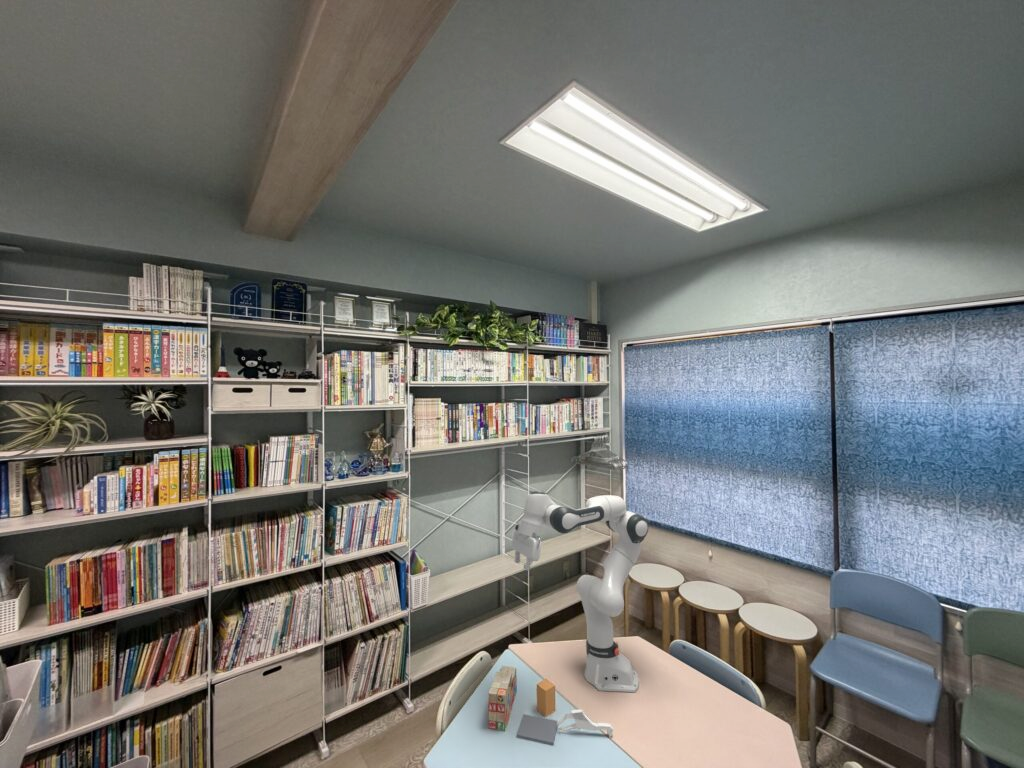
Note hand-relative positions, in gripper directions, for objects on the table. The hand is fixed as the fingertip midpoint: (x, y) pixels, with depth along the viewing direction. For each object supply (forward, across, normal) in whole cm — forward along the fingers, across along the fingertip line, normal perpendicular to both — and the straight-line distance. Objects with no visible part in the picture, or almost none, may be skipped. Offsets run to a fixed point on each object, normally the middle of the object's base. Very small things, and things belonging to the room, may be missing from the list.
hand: (521, 566), depth 158 cm
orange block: (+47, -5, -22) cm, 52 cm away
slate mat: (+49, -13, -15) cm, 53 cm away
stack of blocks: (+52, +1, -8) cm, 52 cm away
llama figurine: (+46, -20, -29) cm, 58 cm away
